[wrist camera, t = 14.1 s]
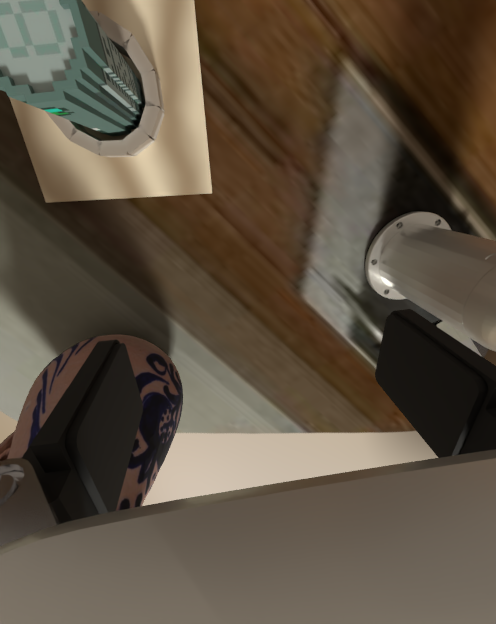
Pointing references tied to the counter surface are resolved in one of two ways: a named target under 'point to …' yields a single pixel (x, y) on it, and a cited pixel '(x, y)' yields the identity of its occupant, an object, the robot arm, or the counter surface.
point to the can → (67, 65)
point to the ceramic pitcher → (154, 421)
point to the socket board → (176, 132)
